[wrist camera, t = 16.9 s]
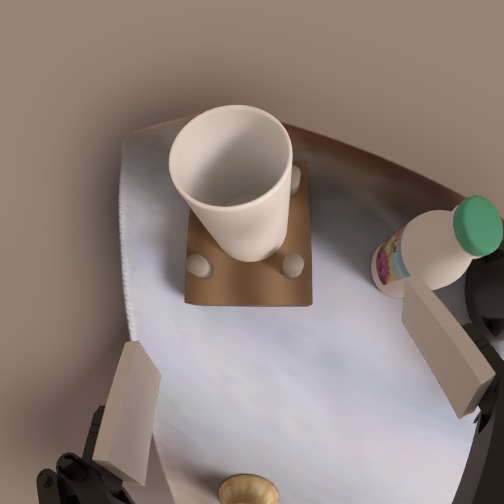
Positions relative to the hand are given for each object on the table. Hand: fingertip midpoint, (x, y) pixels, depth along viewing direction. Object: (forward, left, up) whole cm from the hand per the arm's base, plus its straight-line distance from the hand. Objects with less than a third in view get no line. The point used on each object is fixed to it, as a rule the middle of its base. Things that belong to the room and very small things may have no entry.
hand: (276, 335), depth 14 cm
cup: (+3, -11, -19) cm, 22 cm away
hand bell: (+3, +25, -24) cm, 35 cm away
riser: (+3, -11, -23) cm, 26 cm away
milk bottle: (-16, -7, -24) cm, 29 cm away
